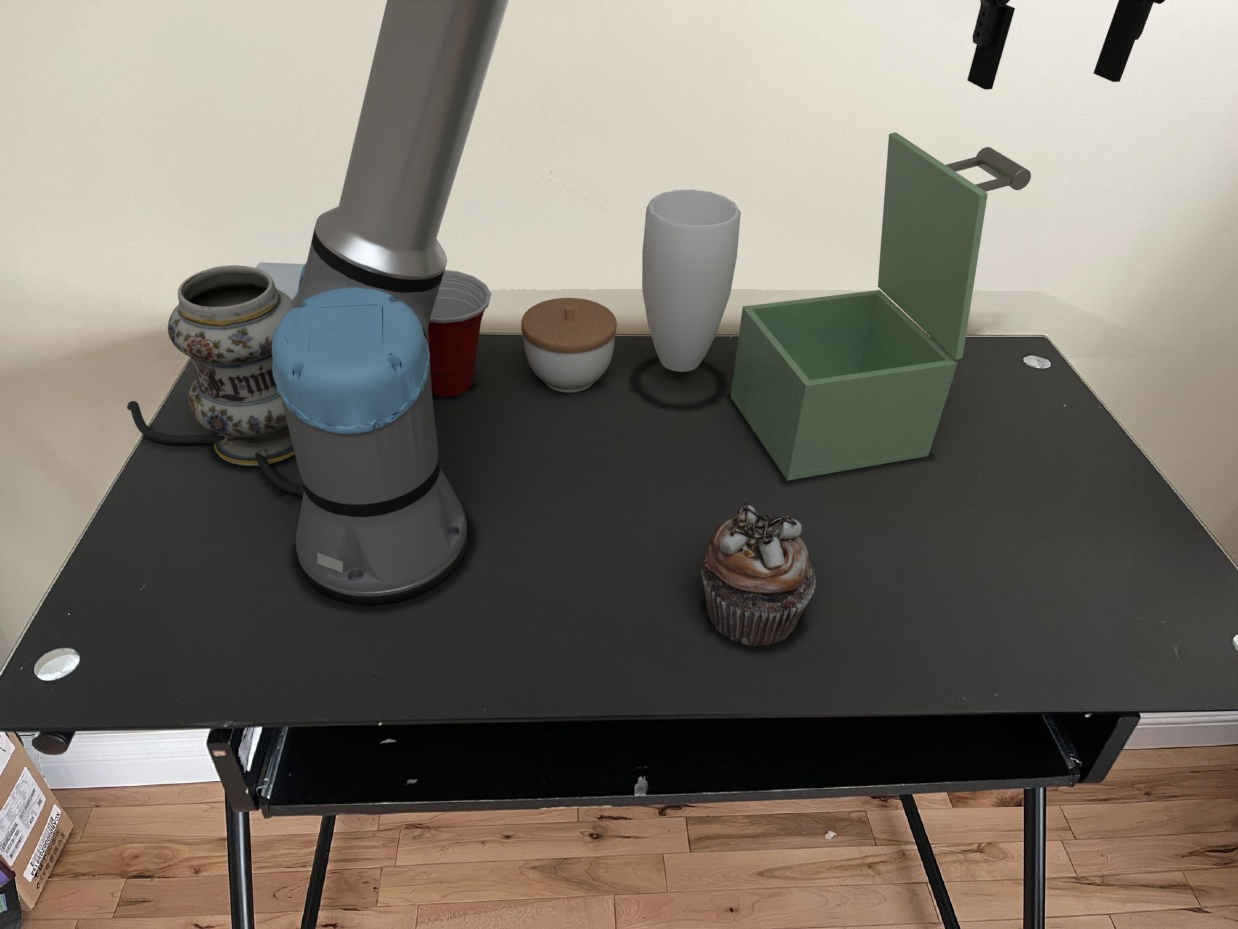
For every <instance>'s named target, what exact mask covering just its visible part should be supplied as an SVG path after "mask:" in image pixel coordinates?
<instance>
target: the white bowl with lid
mask: <svg viewBox="0 0 1238 929" xmlns="http://www.w3.org/2000/svg"><path fill="white" fill-rule="evenodd" d="M520 322H521V325H520V326H521V332H522V342H523V350H524V354H525V357H526V361H527V364H528V365H529V368H530V369H531V371H532V372H533V373H534V375H535V376H536V377H537V378H538V379H539V380H541V381H542V382H543V383H544V384H545V385H546V386H547V387H548V388H549V389H551V390H553V391H556V392H561V393H579V392H583V391H585V390H587V389H589V388H591V387H592V386H593V385H594V383H595V382H596V381H598V380H599V379H600V378H601V377H603V375H604V374H605V373H606V371H607V370H608V368H609V366H610V365H611V362H612V359H613V355H614V350H615V344H616V333H617V327H618V321H617V318H616V315H615V314H614V313H613V312H612V311H611V309H609V308H608V307H606V306H604V305H603V304H601V303H599V302H597V301H593V300H590V299H586V298H578V297H558V298H552V299H547V300H543V301H541V302H538V303H536V304H534V305H532V306H530V308H528V309H527V310H526V311H525V312H524V313H523V315H522V317H521V321H520Z"/></svg>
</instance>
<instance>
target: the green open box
mask: <svg viewBox="0 0 1238 929" xmlns="http://www.w3.org/2000/svg"><path fill="white" fill-rule="evenodd" d="M957 366H958V362H957V361H956V360H955V359H954V358H953V357H952V356H951V355H950V354H949V353H948V352H947V351H946V350H945V349H944V348H943V347H941V346H940V345H939V344H938V343H937V342H936V341H935V340H934V339H933V338H932V337H931V336H930V335H929V334H928V333H927V332H925V331H924V330H923V329H922V328H921V327H920V326H919V325H918V324H917V323H916V322H915V321H914V320H913V319H912V318H911V317H909V316H908V315H907V314H906V313H905V312H904V311H903V310H902V309H901V308H900V307H899V306H898V305H897V304H896V303H895V302H894V301H892V300H891V299H890V298H889V297H888V296H887V295H886V294H885V293H884V292H883V291H882V290H881V289H875V290H867V291H857V292H851V293H843V294H842V293H841V294H833V295H826V296H825V295H823V296H817V297H810V298H809V297H808V298H801V299H791V300H785V301H783V300H782V301H777V302H775V301H774V302H767V303H759V304H752V305H750V304H749V305H744V306H742V309H741V315H740V322H739V329H738V338H737V345H736V351H735V359H734V367H733V374H732V376H733V377H732V384H731V391H730V398H731V400H732V401H733V402H734V404H735V406H736V407H737V409H738V410H739V412H740V414H742V416H743V418H744V419H745V420H746V423H748V425H749V427H750V428H751V430H752V431H753V432H754V433H755V436H757V438H758V440H759V441H760V443H761V444H762V446H763V447H764V449H765V450H766V451H767V453H768V454H769V456H770V457H771V460H773V463H775V465H776V466H777V467H778V469H779V471H780V472H781V474H782V475H783V477H784V478H785V479H786V481H793V480H800V479H805V478H811V477H817V476H822V475H823V476H824V475H829V474H833V473H839V472H840V473H841V472H846V471H850V470H857V469H863V468H869V467H874V466H880V465H885V464H890V463H897V462H903V461H909V460H914V459H921V458H926V457H929V456H930V452H931V448H932V446H933V442H934V439H935V436H936V433H937V430H938V427H939V423H940V420H941V417H942V414H943V411H944V408H945V405H946V401H947V399H948V396H949V393H950V390H951V389H950V388H951V386H952V384H953V379H954V376H955V373H956V370H957Z"/></svg>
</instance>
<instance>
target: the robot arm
mask: <svg viewBox="0 0 1238 929" xmlns="http://www.w3.org/2000/svg"><path fill="white" fill-rule="evenodd" d="M1010 1H1011V0H979V2H980V5H979V10H978V14H977V18H976V21H975V26H974V29H973V33H972V36H971V37H972V43H973V44H975V45H976V46H975V50H974V53H973V57H972V60H971V64H970V68H969V72H968V76H967V79H966V80H967V82H969V83H970V84H972V85H974V86H977V87H979V88H981V89H982V90H986V91H987V90H993V87H994V84H995V80H996V77H997V74H998V71H999V66H1000V63H1001V59H1002V57H1003V53H1004V49H1005V45H1006V41H1007V38H1008V35H1009V31H1010V28H1011V25H1012V22H1013V18H1014V14H1015V11H1016V7H1013V6H1011V5H1008V3H1009V2H1010ZM1165 1H1166V0H1118V1H1117V4H1116V6H1115V9H1114V12H1113V16H1112V19H1111V21H1110V24H1109V27H1108V29H1107V33H1106V35H1105V39H1104V41H1103V44H1102V47H1101V50H1100V53H1099V55H1098V59H1097V61H1096V64H1095V67H1094V70H1093V73H1092V74H1094V75H1096V76H1098V77H1100V78H1103V79H1104V80H1107V81H1110V82H1112V83H1119V82H1121V80H1122V77H1123V76H1124V75H1123V74H1124V72H1125V69H1126V67H1127V64H1128V62H1129V58H1130V55H1131V53H1132V51H1133V48H1134V45H1135V42H1136V41H1138V40H1139V39H1140V37H1141V36H1142V34H1143V32H1144V29H1145V26H1146V24H1147V21H1148V19H1149V16H1150V13H1151V11H1152V8H1153V6H1154V4H1157V5H1161V4H1163V3H1165ZM509 2H510V0H386V3H385V7H384V11H383V16H382V20H381V23H380V28H379V31H378V32H379V33H378V37H377V41H376V46H375V49H374V54H373V59H372V63H371V66H370V70H369V75H368V79H367V84H366V88H365V91H364V97H363V100H362V104H361V109H360V114H359V118H358V121H357V126H356V130H355V135H354V139H353V143H352V148H351V152H350V156H349V160H348V164H347V169H346V173H345V177H344V182H343V186H342V190H341V194H340V199H339V203H338V206H336V207H333V208H331V209H329V210H327V211H324V212H323V213H322V214H320V215H319V216H318V217H317V219H316V220H315V223H314V227H313V233H312V237H311V241H310V245H309V251H308V255H307V259H306V262H305V263H304V264H305V265H304V266H303V269H302V271H301V275H300V280H299V286H298V305H297V308H292V309H291V310H290V311H289V312H288V313H287V314H286V315H285V316H284V317H283V318H282V320H281V321H280V323H279V324H278V326H277V328H276V330H275V333H274V336H273V341H272V357H273V363H272V370H273V377H274V381H275V383H276V385H277V391H278V393H279V394H280V397H281V400H282V404H283V408H284V412H285V416H286V420H287V424H288V428H289V432H290V436H291V440H292V444H293V448H294V452H295V455H294V456H295V461H296V465H297V468H298V473H299V476H300V479H301V483H302V485H298V484H293V483H291V482H287V481H286V480H284V479H283V478H282V477H281V476H279V475H278V474H277V472H276V471H275V470H274V468H273V467H272V466H271V464H269V462H268V461H267V459H266V458H265V457H264V456H263V455H261V454H259V453H256V454H255V456H256V460H257V463H258V465H259V466H258V467H259V468H260V470H261V471H262V473H263V474H264V475H265V477H266V478H267V479H268V481H269V482H270V483H271V484H273V486H275V487H276V488H278V489H279V490H281V491H283V492H285V493H287V494H291V495H296V496H301V497H302V500H301V505H300V510H299V516H298V522H297V527H296V532H295V550H296V554H297V560H298V563H299V567H300V569H301V572H302V574H303V575H304V577H305V579H306V581H308V583H309V584H311V586H313V588H315V589H316V590H318V591H319V592H321V594H324V595H326V596H328V597H330V598H333V599H335V600H338V601H341V602H346V603H351V604H361V605H382V604H388V603H389V604H390V603H394V602H399V601H403V600H406V599H409V598H412V597H415V596H418V595H420V594H422V593H425V592H426V591H428V590H430V589H432V588H435V587H436V586H437V585H439V584H440V583H441V582H443V581H444V580H446V579H447V577H449V576H450V575H451V574H452V573H453V572H454V571H455V569H456V568H458V565H459V564H461V561H462V559H463V558H464V556H465V554H466V551H467V547H468V542H469V533H468V523H467V518H466V517H467V516H466V513H465V511H464V508H463V505H462V503H461V501H460V500H459V498H458V496H457V494H456V493H455V491H454V489H453V487H452V486H451V484H450V482H449V480H448V479H447V477H446V475H445V473H444V471H443V470H442V468H441V463H440V455H439V445H438V437H437V428H436V427H437V426H436V418H435V410H434V400H433V394H432V388H431V372H430V353H429V339H428V327H429V321H430V317H431V313H432V310H433V307H434V303H435V300H436V297H437V294H438V291H439V287H440V284H441V281H442V277H443V274H444V271H445V270H446V268H447V264H448V256H447V253H446V251H445V250H444V249H443V247H442V245H441V244H440V242H439V240H438V234H439V232H440V228H441V225H442V222H443V218H444V215H445V211H446V209H447V205H448V203H449V202H448V201H449V198H450V196H451V193H452V189H453V185H454V182H455V179H456V175H457V173H458V168H459V166H460V162H461V159H462V155H463V152H464V149H465V146H466V143H467V139H468V136H469V132H470V130H471V126H472V122H473V119H474V116H475V114H476V110H477V106H478V103H479V100H480V97H481V93H482V90H483V87H484V83H485V80H486V77H487V74H488V70H489V68H490V64H491V60H492V58H493V54H494V51H495V47H496V44H497V41H498V37H499V34H500V30H501V28H502V24H503V21H504V17H505V14H506V11H507V7H508V5H509ZM126 409H127V410H128V411H130V412H131V417H132V420H133V422H134V424H135V427H136V428H137V430H138V431H139V432H140V433H141V434H142V435H143V436H144V437H146V438H148V439H149V440H152V441H155V442H158V443H162V444H168V445H211V444H212V445H214V443H216V442H218V441H221V440H224V439H225V436H222V435H216V434H193V435H189V434H188V435H187V434H186V435H177V434H176V435H175V434H165V433H161V432H158V431H155V430H153V429H151V427H150V426H148V424H147V422H146V421H145V419H144V417H143V414H142V411H141V407H140V405H139V403H138V401H136V400H130V401H129V402H128V403H127V405H126Z"/></svg>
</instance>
